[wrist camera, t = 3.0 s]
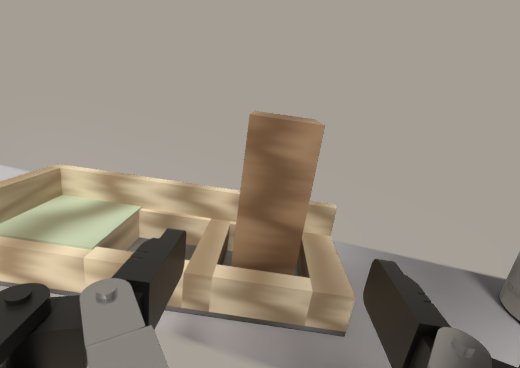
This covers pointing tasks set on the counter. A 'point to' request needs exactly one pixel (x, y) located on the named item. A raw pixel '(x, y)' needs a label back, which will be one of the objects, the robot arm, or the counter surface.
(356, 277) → the counter surface
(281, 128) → the walnut block
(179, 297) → the box
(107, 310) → the robot arm
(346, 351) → the counter surface
